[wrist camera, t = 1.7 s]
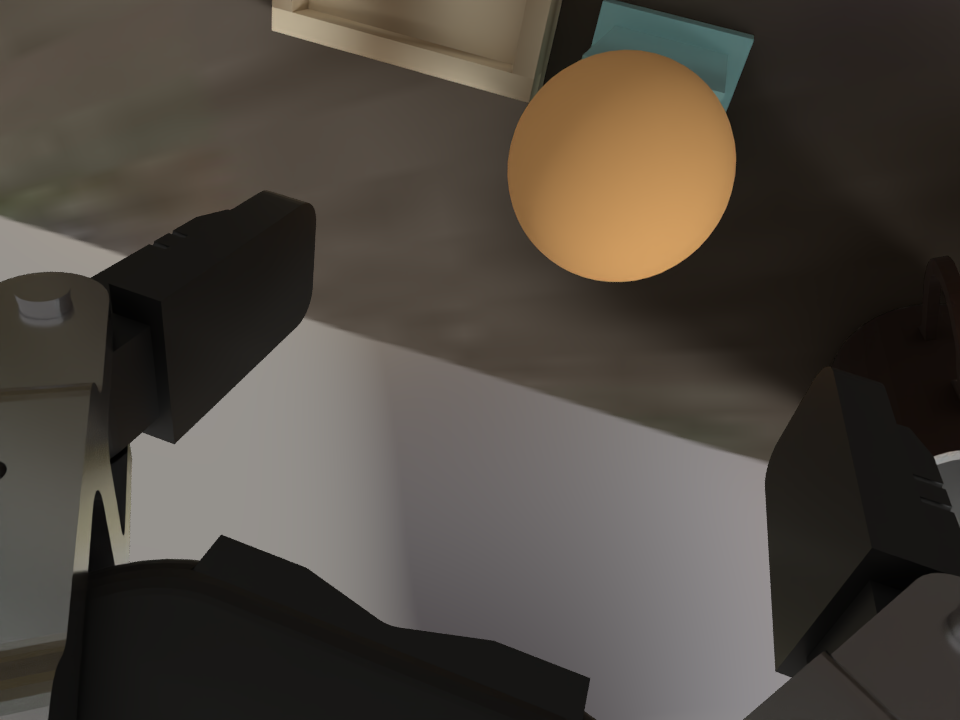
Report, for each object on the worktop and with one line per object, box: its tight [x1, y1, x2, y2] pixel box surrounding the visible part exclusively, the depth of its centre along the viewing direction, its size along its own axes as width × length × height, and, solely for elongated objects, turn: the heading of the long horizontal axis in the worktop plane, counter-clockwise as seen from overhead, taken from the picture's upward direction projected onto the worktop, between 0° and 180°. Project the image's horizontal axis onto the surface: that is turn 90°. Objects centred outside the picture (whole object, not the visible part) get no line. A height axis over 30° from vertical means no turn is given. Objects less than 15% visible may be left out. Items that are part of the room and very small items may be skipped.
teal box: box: [582, 0, 754, 112], centre depth 22 cm, size 5×5×7 cm
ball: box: [508, 50, 736, 282], centre depth 17 cm, size 6×6×6 cm
